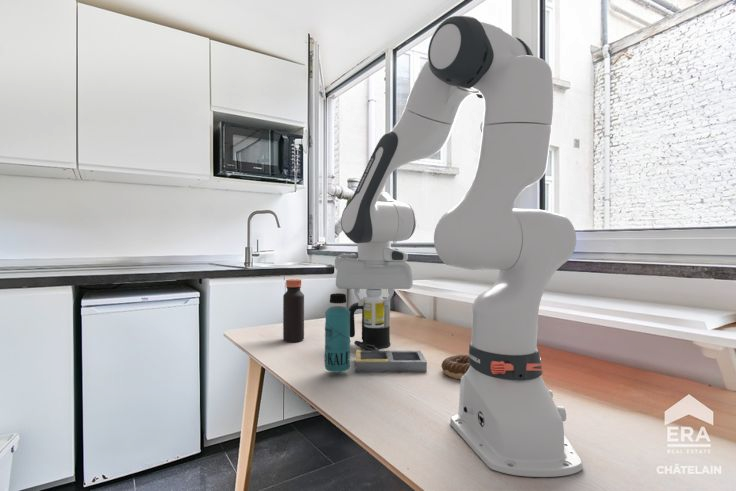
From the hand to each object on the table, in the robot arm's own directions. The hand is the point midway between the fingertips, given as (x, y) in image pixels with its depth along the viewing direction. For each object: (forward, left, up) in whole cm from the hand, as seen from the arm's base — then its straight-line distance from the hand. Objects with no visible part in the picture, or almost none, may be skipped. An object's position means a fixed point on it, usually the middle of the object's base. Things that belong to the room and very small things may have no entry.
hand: (373, 305), depth 100 cm
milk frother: (+16, 0, -16) cm, 23 cm away
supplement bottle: (0, 0, -6) cm, 6 cm away
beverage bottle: (-6, +9, -16) cm, 20 cm away
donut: (-7, -22, -16) cm, 28 cm away
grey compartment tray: (0, -4, -16) cm, 16 cm away
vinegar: (+25, +26, -16) cm, 40 cm away
